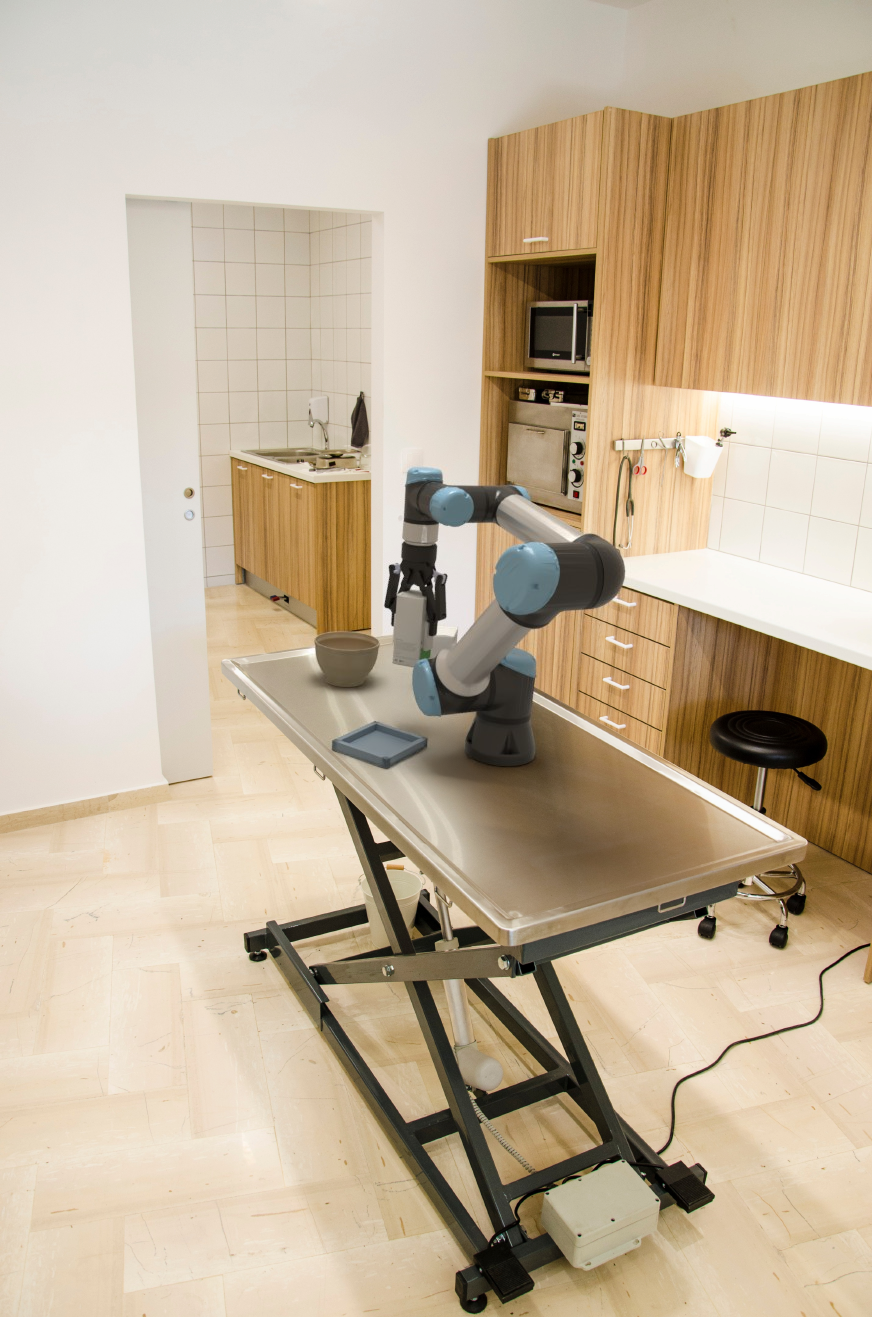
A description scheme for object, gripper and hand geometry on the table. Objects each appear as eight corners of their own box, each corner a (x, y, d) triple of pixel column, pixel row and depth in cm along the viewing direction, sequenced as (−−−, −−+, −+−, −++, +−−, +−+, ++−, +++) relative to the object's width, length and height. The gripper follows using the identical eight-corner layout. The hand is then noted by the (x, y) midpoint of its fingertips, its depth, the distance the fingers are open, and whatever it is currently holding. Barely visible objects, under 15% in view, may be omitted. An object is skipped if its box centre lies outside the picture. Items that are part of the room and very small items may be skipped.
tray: (427, 747, 211) (427, 738, 211) (386, 769, 199) (386, 759, 198) (374, 729, 218) (374, 720, 217) (331, 749, 206) (332, 740, 205)
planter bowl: (385, 676, 252) (388, 636, 249) (365, 696, 237) (368, 653, 234) (326, 667, 256) (328, 627, 252) (302, 686, 241) (304, 644, 237)
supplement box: (449, 694, 243) (454, 636, 239) (413, 690, 245) (417, 632, 240) (454, 682, 252) (459, 626, 247) (419, 678, 253) (424, 622, 248)
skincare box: (418, 669, 212) (424, 599, 207) (389, 663, 214) (395, 594, 209) (431, 659, 219) (437, 591, 214) (403, 653, 221) (409, 586, 216)
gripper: (469, 547, 206) (460, 652, 213) (391, 532, 216) (385, 632, 223) (450, 552, 200) (442, 659, 207) (370, 536, 210) (365, 638, 217)
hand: (412, 645), depth 215 cm, fingers closed on skincare box, 7 cm apart
